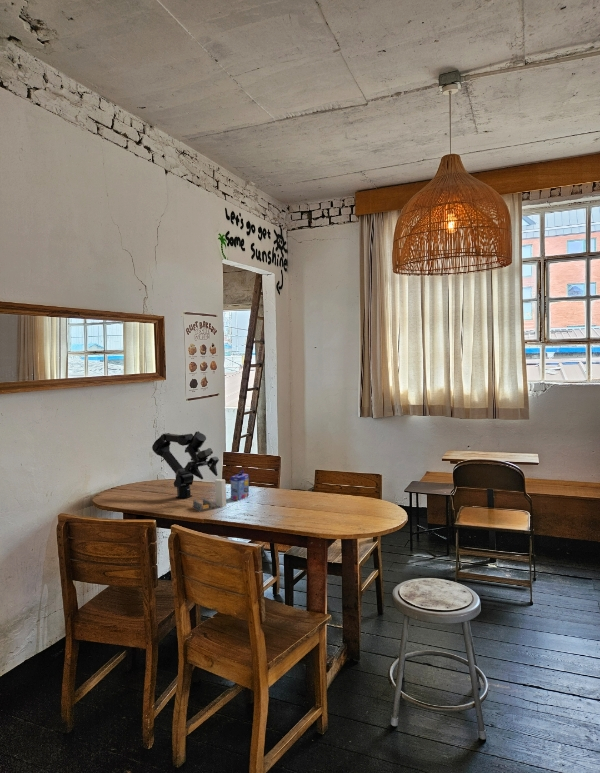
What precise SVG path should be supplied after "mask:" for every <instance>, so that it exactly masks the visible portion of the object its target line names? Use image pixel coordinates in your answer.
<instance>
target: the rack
mask: <svg viewBox="0 0 600 773" xmlns="http://www.w3.org/2000/svg"><path fill="white" fill-rule="evenodd" d="M192 502H193V505H192V508H193V509H194V510H197V511H198V512H203V511H209V510H213V509H214V508H213V504H212V501H210V500H208V499H206V498H202V503H201V502H199V501H197V500H196V499H194V500H193V501H192Z"/></svg>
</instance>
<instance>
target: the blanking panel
mask: <svg viewBox="0 0 600 773" xmlns="http://www.w3.org/2000/svg"><path fill="white" fill-rule="evenodd" d="M226 488H227V487H226V479H221V478H216V479H214V489H215V490H214V491H215V507H219V506H220V507H219V508H225V507H227V492H226V491H227V489H226ZM224 506H225V507H224Z"/></svg>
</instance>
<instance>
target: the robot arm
mask: <svg viewBox="0 0 600 773" xmlns="http://www.w3.org/2000/svg"><path fill="white" fill-rule="evenodd" d="M206 436H207V435H205V434H203V433H201V432H200V431H195V432H194V434H193V433H186V434H176V433H175V434H174V433H170V432H168V433H162V434H160V436H159V437H158V438H157V439H156V440H155V441H154V443H153V444H152V447H151V449H152V451H153V453H155V454H156V455H157V456H160V457H162V459H163V460H164V461H165V462H166V463H167V465H168V466H169V467H170V468H171V470H172V471H173V472H174V474H175V480H174V482H173V485H174V487H175V488H176V489H177V490H176V491H177V492H176V493H177V494H176V496H175V497H176V498H175V499H181V498H182V499H183V500H185V499H187V498H190V497H193V495H191V494H192V493H191V488H190V487H191V486H192V485H193V482H194V476H195V477H197V478H199V479H200V480H204V476H203V474H202V473H201V470H200V469H199V468H200V467H204V466H207V467H208V469H209V471H210V472H212V474H213V475H214V476H215V477H218V476H219V475H218V469H217V464H219V461H220V459H219V457H218V456H212V454H213V453H214V451H213V450H212V448H211V447H208V448H207V449H203V450H200V449H201V448H202V446H203V445H204V443H205V441H206V440H207V437H206ZM171 443H177V444H178V445H180V446H182V447H185V450H184V454H185V453H186V454H187V453H188V455H189V456H190V461H188V462H187V463H186V464H185V467H183V466H182V464H181V463H180V462H179V460H178V459H177V458H176V457H175V456H174V454H173V453H172V452H171V450H170V449H171V447H170V446H171ZM209 456H212V457H210V458H209ZM208 458H209V459H208ZM182 499H181V500H182Z"/></svg>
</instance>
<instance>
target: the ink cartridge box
mask: <svg viewBox="0 0 600 773" xmlns="http://www.w3.org/2000/svg"><path fill="white" fill-rule="evenodd" d="M244 472H245V470H240V471H239V472H238V474H235V475H232V476H230V500H231V499H232V501H237V500H239V501H241V499H242V500H244V499H246V498H245V497H247V498H249V497H248V496H250V492H249V491H250V488H249V487H250V486H249V484H250V483H249V482H250V478H249V474H248V473H244ZM243 498H244V499H243Z"/></svg>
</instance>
